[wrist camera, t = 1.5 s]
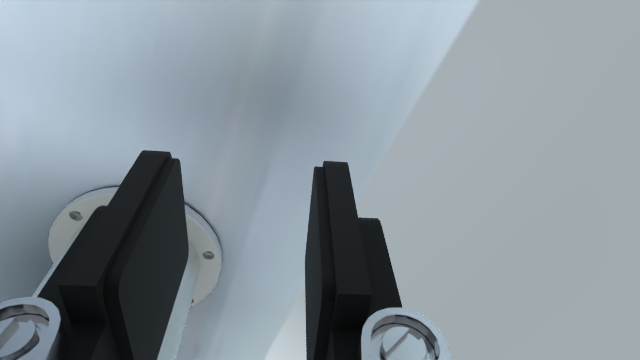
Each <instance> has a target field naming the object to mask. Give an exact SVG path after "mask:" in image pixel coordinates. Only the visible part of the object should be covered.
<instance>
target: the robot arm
mask: <svg viewBox="0 0 640 360" xmlns="http://www.w3.org/2000/svg"><path fill="white" fill-rule="evenodd" d="M48 247H49V254H50V257H51V259H52V262H53V266H52V267H51V269H50V270H49V272H48V273H47V274H46V276H45V277H44V279H43V280H42V282H41V283H40V285H39V286H38V288H37V289H36V291H35V292H34V294H33V295H32V297H21V298H14V299H9V300H6V301H3V302H0V360H176V358H177V354H178V350H179V346H180V343H181V339H182V335H183V332H184V328H185V324H186V320H187V317H188V313H189V309H190V307H192V306H194V305H195V304H197V303H199V302H200V301H202V300H203V299H204V298H205V297H206V296H208V295H209V294H210V293H211V291H212V290H213V288H214V287H215V285H216V284H217V281H218V278H219V275H220V271H221V265H222V251H221V247H220V244H219V241H218V238H217V236H216V235H215V233H214V232H213V230H212V228H211V227H210V226H209V224H208V223H207V222H206V221H205V220H204V219H203V218H202V217H201V216H200V215H199V214H198V213H196V212H195V211H194V210H192V209H191V208H190V207H188V206H187V205H185V204H184V195H183V185H182V175H181V166H180V161H179V159H175V158H172V156H171V153H170V152H163V151H146V150H144V151H142V152H141V153H140V155H139V156H138V158H137V160H136V161H135V163H134V164H133V166H132V168H131V169H130V171H129V172H128V174H127V175H126V177H125V179H124V180H123V182H122V183H121V185H120V186H119V187H112V188H103V189H99V190H95V191H91V192H88V193H86V194H84V195H82V196H80V197H78V198H76V199H74V200H73V201H72V202H71V203H69V204H68V205H67V206H66V207H65V208H64V209H63V210H62V212H61V213H60V214H59V215H58V217H57V218H56V219H55V221H54V223H53V225H52V227H51V229H50V232H49V238H48ZM305 290H306V343H307V344H306V346H307V347H306V348H307V360H452V359H451V355H450V351H449V347H448V344H447V342H446V340H445V337H444V335H443V334H442V332H441V331H440V330H439V328H438V327H437V326H436V325H435V324H434V323H433V322H432V321H430V320H429V319H428V318H427V317H425V316H423V315H421V314H419V313H417V312H415V311H413V310H409V309H404V308H402V304H401V300H400V296H399V292H398V289H397V285H396V281H395V277H394V273H393V269H392V265H391V262H390V258H389V253H388V249H387V246H386V242H385V238H384V234H383V230H382V226H381V223H380V221H379V220H378V219H377V218H358V215H357V210H356V204H355V199H354V194H353V188H352V183H351V178H350V172H349V167H348V163H347V162H333V161H324V162H323V167H314V174H313V184H312V194H311V204H310V214H309V224H308V234H307V244H306V255H305Z"/></svg>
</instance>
